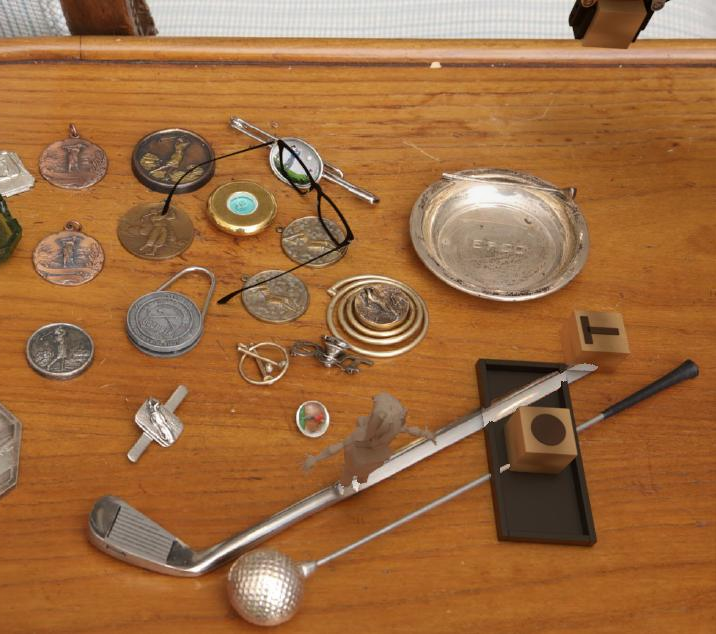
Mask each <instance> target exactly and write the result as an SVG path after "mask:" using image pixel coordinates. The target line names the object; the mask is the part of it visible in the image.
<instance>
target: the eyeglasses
mask: <svg viewBox="0 0 716 634" xmlns="http://www.w3.org/2000/svg"><path fill="white" fill-rule="evenodd" d="M271 145H277V147H278V160H279V167H280V170H281V172H282V174H285V175H284V176H285V177H286V179H287V181H288V182H289V183H290V184H291V186H292V187H293V188H294V189H295V190H296V191H297V192H298V193H299V194H300V195H301V196H304V195H305V196H307V197H308V196H309V194H310V193H311V192H312V191H313V190H315V191H316V194H317V195H316V199H314V200H313V204H312V205H313V207H314V208H316V210H317V217H318V220H319V222H320V224H321V225H322V227H323V229H324V231H325V232H326V234H327V235H328V236H329V237H330V240H332V241H333V243H334V244H335V245H336V247H334V248H332V249H331V250H328V251H326V252H324V253H322V254H319V255H318V256H316V257H314V258H312V259H309V260H307V261H306V262H303V263H301V264H299V265H297V266H295V267H292V268H291V269H288V270H287V271H284V272H282V273H280V274H278V275H276V276H273V277H271V278H270V277H269V278H268V279H265V280H263V281H260V282H256V283H254V284H252V285H249V286H246V287H243V288H239V289H237V290H235V291H233V292H230V293H228V294H227V295H225V296H223V297H222V298H220V299H218V300H217V301H216V304H221V305H223V304H226V303H228V302H229V301H230V300H231V299H234V297H236V296H237V295H239V294H241V293H242V292H245V291H247V290H249V289H252V288H255V287H258V286H260V285H264V284H265V283H267V282H270V281H272V280H276V279H277V278H280V277H282V276H285V275H287V274H288V273H290V272H291V273H292V272H293V271H294V270H297V269H299V268H302V267H304V266H306V265H308V264H310V263H312V262H314V261H317V260H319V259H321V258H323V257H325V256H327V255H329V254H331V253H333V252H336V251H338V250H341V249H342V248H344V247H347V246H349V245H350V244H352V243H353V242H355V235H354V233H353V231H352V229H351V228H350V226H349V224H348V223H349V222H347V220H346V217H344V215H343V213H342V212H341V210H340V209H339V208H338V206H337V204H335V202H334V201H333V200H332V199H331V198H330V197H329V195H327V194H326V193H325V192H324V191H323V189H322V187H321V185H320V184H319V183H317V182H316V181H315V179H314V178H313V175H312V174H311V172H310V170H309V169H308V167H307V166H306V164H305V163H304V161H303V160H302V159H301V157H300V156H299V155H298V154H297V153H296V151H295V150H293V148H292V147H291V146H290V145H288V144H287V143H286V141H284V140H283V139H282V138H280V139H279V138H278V139H274V140H271V141H268V142H264V143H261V144H258V145H254V146H251V147H248V148H245V149H242V150H241V149H240V150H238V151H235V152H231V153H228V154H225V155H222V156H219V157H216V158H213V159H209V160H207V161H204V162H201V163H200V164H197V165H195V166H194V167H192V168H191V169H189V170H188V171H186V172H185V173H183V175H181V177H179V179H178V180H177V181H176V182H175V184H174V186H173V187H171V188H172V189H171V190H170V192H169V193H168V195H167V198H166V200H165V202H164V205H163V208H162V210H161V215H162V216H163V215H165V214H166V213H168V210H169V207H170V205H171V201H172V199H173V196H174V194H175V191H176V188H177V187H178V186H179V184H180V183H181V182H182V180H183V179H184V178H185V177H186V176H188V174H190V173H191V172H193V171H194V170H196V169H197V168H199V167H202V166H205V165H206V164H209V163H212V162H216V161H218V160H222V159H225V158H227V157H232V156H235V155H238V154H239V155H240V154H242V153H245V152H249V151H253V150H255V149H260V148H263V147H267V146H271ZM284 150H287V151H288V152H289V153H290V154H291V155H292V157H294V159H295V160H296V161H297V162H298V164H299V165H300V166H301V167H302V169H303V170H304V172H305V174H306V176H307V178H308V180H309V182H310V185H309V188H307V190H306V191H302V190H301V189H300V188H299V187H298V185H296V184H295V182H294V181H293V180H292V178H291V177H290V176H289V174H288V173H287V171H286V169H285V166H284V159H283V157H284V156H283V155H284ZM284 169H285V170H284ZM287 176H289V177H290V178H291V179H290V178H289V177H287ZM322 198H323V199H324V200H325V201H326V202H327V203H329V205H330V206H331V208H333V210H334V211H335V213H336V214H337V216H338V217H339V219H340V221H341V222H342V224H343V226H344V228H345V231H346V236H345V238H344V239H343V241H341V242H339V241H338V240H337V239H336V238H335V236H334V235H333V234H332V233H331V231H330V229H329V228H328V227H327V225H326V223H325V221H324V218H323V217H322V210H321V203H322Z"/></svg>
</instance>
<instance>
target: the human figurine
mask: <svg viewBox="0 0 716 634" xmlns="http://www.w3.org/2000/svg"><path fill="white" fill-rule="evenodd" d="M371 401H372V403H373V405H372V408H371V411H370V413H369V414H368V416H366V415H359V416H358V417H357V418H356V420H355V422H354V423H355V425H356V427H355V429H354V430H353V431H352V432H350V434H349V435H347V436H346V437H344V439H343V440H342V441H341V442H337V443H334V444H330V445H328V446H327V447H325V448H323V450H321V451H320V452H319V453H318V454H316V455H315V456H313V455H311V454H309V453H307V452H305V453H304V456H306V459H305V461H303V462H299V463H298V466H301V467H299V468H298V470H299V471H302V470H303V471H302V474H305V476H308V475H309V472H310V471H311V469H313V467H314V466H315V465H316V464H317V463H318V462H321V461H324V460H327V459H330V458H332V457H333V456H335V455H338V454H339V453H340V452H341V451H342V450H343V461H344V465H343V466H342V471H341V472H342V474H341V475H340V478H339V483H340V484H341V486H344V487H345V488H349V487H352V484H351V483H352V480H353V479H354V478H357V482H358V483H360V484H361V485H362V484H367V483H368V479H369V476H370V475H371V474H372V473H374V472H375V471H376V470H378V469H379V468H382V467H383V466H384V464H385V462H387V461H390V460H391V457H392V455H391V454H392V453H391V446H390V445H391V444H392V442H393V441H394V440H396V439H397V436H399V435H400V434H403V435H404V434H408V435H410V437H413V438H426V439H427V440H429V441H431V442H432V443H433V445H434V446H438V444H437V443H438V441H437V437H436V436H434V435H435V432H431V431H430V430H429V429H428V425H425V426H424V430H423V429H421V428H419V427H418V426H415V425H414V426H408V425H407V424H406V423H407V415H408V413H409V409H408V408H405V405H404V404H403V403H402V402H400V401H399V399H398V398H397V397H395V396H394V395H391V393H389V392H387V391H382V392H379V393H377V394H375V395H373V396H372V397H371Z"/></svg>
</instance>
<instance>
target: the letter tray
mask: <svg viewBox="0 0 716 634" xmlns="http://www.w3.org/2000/svg"><path fill="white" fill-rule="evenodd" d="M474 366H475V374H476V383H477V390H478V399H479V405H480V407H481V406H482V407H484V408H485V409H486V408H488V407H490V406H491V401H492V400H494V399H496V398H499V397H501V396H503V395H505V394H508V392H510V391H512V390H514V389H518V388H519V387H522V386H524V385H527V384H530V383H531V382H532V381H535V380H536V379H538V378H540V377H543V376H545V375H547V374H549V373H552V372H555V371H558V372H559V373H560V374H561V373H563V372H564V371H566V365H565V362H553V361H552V362H551V361H550V362H549V361H534V360H532V361H531V360H514V359H500V358H498V359H497V358H482V357H481V358H480V357H479V358H478V360H476V363H475V364H474ZM528 406H530V407H546V408H563V409H569V411H570V416H571V422H572V427H573V432H574V438H575V443H576V449H577V454H578V455H577V456H576V457H575V458H574V459H573V460H572V461H571V462H570V463H569V464H568V465H567V466H566V467H565V468H564V469H563V470H562V471H561V472H560V473H559V474H549V473H532V472H516V471H509V469H507V470H505V471H503V472H502V473H500V467H502V466H504V465H506V464H508V457H507V450H506V443H505V435H504V428H503V426H504V425H505V424H506V422H507V421H508V420H509V419H510V417H511V416H512V415H513V413H512V414H510V415H508V416H506V417H504V418H502V419H500V420H498V421H497V422H493V421H491V422H490V421H489V423H488V424H487V425H486V426H485V427H484V428H483V427H482V429H483V437H484V444H485V451H486V459H487V468H488V469H487V470H488V474H489V473H490V474H491V478H490V477H489V481H490V482H489V483H490V492H491V499H492V506H493V515H494V522H495V531H496V537H497V541H498V542H511V543H512V542H513V543H526V544H541V545H543V544H544V545H558V546H559V545H560V546H575V547H587V548H588V547H589V548H591V547H593V546H595V545H596V544H597V543H598V537H597V532H596V527H595V521H594V517H593V512H592V505H591V500H590V495H589V490H588V484H587V478H586V472H585V468H584V462H583V458H582V452H581V447H580V446H581V445H580V440H579V434H578V430H577V425H576V419H575V413H574V409H573V404H572V398H571V392H570V388H569V382H568V380H567V381H564V382H563V381H561V387H560V388H559V389H558V390H557V391H554V392H552V393H550V394H549V395H547V396H545V397H543V398H542V399H540V400H538V401H536V402H534V403H532V404H531V405H528Z"/></svg>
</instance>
